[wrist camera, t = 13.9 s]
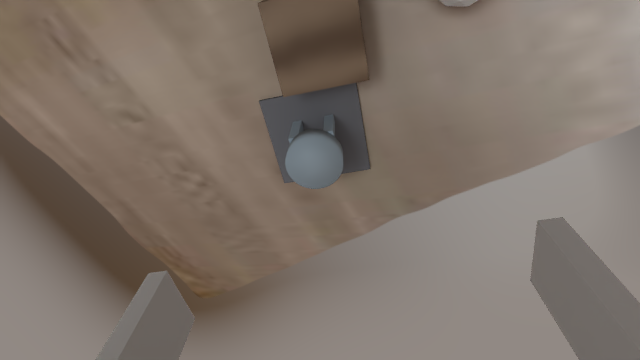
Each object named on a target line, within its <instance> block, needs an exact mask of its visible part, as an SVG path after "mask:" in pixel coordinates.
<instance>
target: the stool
mask: <svg viewBox="0 0 640 360" xmlns="http://www.w3.org/2000/svg"><path fill="white" fill-rule="evenodd" d="M303 129H304V128H303V124H302V120H301V121H296V122H293V124H292V127H291V131H290V134H289V138H288V140H289V143H290V144H289V147H288V151H287V155H286V159H285V166H286V170H287V172H288V174H289V176H290V177H291V178H292V179H293V181H295V182H296V183H297V184H299V185H301V186H303V187H306V188H311V189H319V188H324V187H327V186H329V185H331V184H333V183H334V182H335V181H336V180H337V179H338V178H339V177H340V175H341V173H342V170H343V150H342V146H341V144H340V142H339V141H338V140H337V138H336V137H335V121H334V116H333V115H328V116H324V128H323V130H320V129H309V130H305V131H303Z"/></svg>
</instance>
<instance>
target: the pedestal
mask: <svg viewBox="0 0 640 360" xmlns="http://www.w3.org/2000/svg"><path fill="white" fill-rule="evenodd" d="M258 7H259V10H260V14H261V18H262V21H263V25H264V29H265V32H266V36H267V40H268V43H269V47H270V51H271V54H272V58H273V62H274V65H275V69H276V73H277V76H278V80H279V83H280V87H281V91H282V94H283V97H287V96H292V95H297V94H302V93H307V92H312V91H317V90H322V89H327V88H332V87H337V86H342V85H347V84H352V83H357V82H362V81H367V80H369V74H368V67H367V60H366V53H365V46H364V39H363V32H362V25H361V18H360V12H359V5H358V0H263V1H261V2H259V3H258Z"/></svg>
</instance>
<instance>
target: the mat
mask: <svg viewBox="0 0 640 360" xmlns="http://www.w3.org/2000/svg"><path fill="white" fill-rule="evenodd" d="M259 102H260V106H261V109H262V112H263V115H264V119H265V122H266V125H267V128H268V131H269V135H270V138H271V141H272V144H273V148H274V151H275V154H276V157H277V160H278V164H279V167H280V170H281V173H282V177H283V180H284V183H289V182H295V181H293V179H292V178H291V177H290V176H289V174H288V172H287V170H286V166H285V159H286V155H287V151H288V147H289V144H290V143H289V140H288V138H289V134H290V131H291V127H292V124H293V122H296V121H301V120H302V124H303V128H304V129H303V131H305V130H309V129H320V130H323V128H324V116H328V115H333V116H334V121H335V137H336V138H337V140H338V141H339V142H340V144H341V146H342V150H343V170H342V173H341V174H343V173H349V172H355V171H361V170H367V169H370V164H369V158H368V152H367V146H366V140H365V134H364V128H363V122H362V115H361V109H360V103H359V97H358V91H357V85H356V83H352V84H347V85H342V86H337V87H332V88H327V89H322V90H317V91H312V92H307V93H302V94H297V95H292V96H287V97H283V96H279V97H274V98H269V99H264V100H260V101H259Z"/></svg>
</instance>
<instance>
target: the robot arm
mask: <svg viewBox="0 0 640 360" xmlns="http://www.w3.org/2000/svg"><path fill="white" fill-rule="evenodd" d="M531 282H532V284H533V285H534V287H535V289H536V290H537V292H538V293H539V295H540V297H541V298H542V300H543V302H544V303H545V305H546V306H547V308H548V310H549V311H550V313H551V314H552V316H553V318H554V320H555V321H556V323H557V325H558V326H559V328H560V329H561V331H562V332H563V334H564V336H565V338H566V339H567V341H568V342H569V344H570V346H571V347H572V349H573V351H574V352H575V354H576V355H577V357H578V359H579V360H640V303H639V302H638V301H637V299H636V298H635V297H634V296H633V295H632V294H631V293H630V292H629V291H628V290H627V288H626V287H625V286H624V285H623V284H622V283H621V282H620V281H619V279H618V278H617V277H616V276H615V275H614V274H613V273H612V272H611V270H610V269H609V268H608V267H607V266H606V265H605V264H604V263H603V262H602V260H600V258H599V257H598V256H597V255H596V254H595V253H594V252H593V250H592V249H591V248H590V247H589V246H588V245H587V244H586V243H585V242H584V240H583V239H582V238H581V237H580V236H579V235H578V234H577V233H576V232H575V230H574V229H573V228H572V227H571V226H570V225H569V224H568V223H567V222H566V221H565V219H564V218H563V217H561V218H554V219H547V220H539V221H537V228H536V237H535V245H534V254H533V262H532V271H531ZM194 320H195V317H194V316H193V314H192V313H191V311H190V309H189V307H188V306H187V304H186V302H185V300H184V299H183V297H182V295H181V294H180V292H179V291H178V289H177V287H176V285H175V284H174V282H173V280H172V279H171V277H170V275H169V273H168V272H167V271H162V272H155V273H149V274H148V275H147V277H146V278H145V280H144V281H143V283H142V285H141V286H140V288H139V290H138V291H137V293H136V295H135V296H134V298H133V299H132V301H131V303H130V304H129V306H128V308H127V310H126V311H125V313H124V314H123V316H122V317H121V319H120V321H119V322H118V324H117V326H116V327H115V329H114V330H113V332H112V334H111V335H110V337H109V339H108V340H107V342H106V343H105V345H104V347H103V349H102V350H101V352H100V353H99V355H98V357H97V358H96V360H179V357H180V355H181V352H182V350H183V347H184V345H185V342H186V340H187V337H188V334H189V332H190V329H191V327H192V325H193V322H194Z"/></svg>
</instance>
